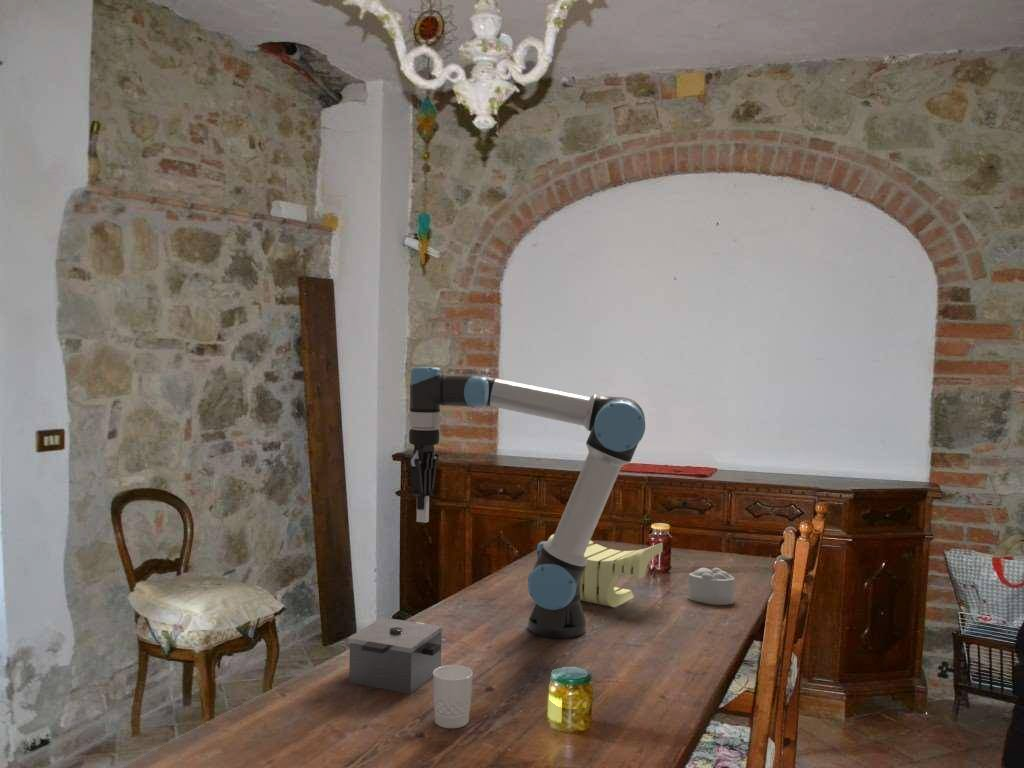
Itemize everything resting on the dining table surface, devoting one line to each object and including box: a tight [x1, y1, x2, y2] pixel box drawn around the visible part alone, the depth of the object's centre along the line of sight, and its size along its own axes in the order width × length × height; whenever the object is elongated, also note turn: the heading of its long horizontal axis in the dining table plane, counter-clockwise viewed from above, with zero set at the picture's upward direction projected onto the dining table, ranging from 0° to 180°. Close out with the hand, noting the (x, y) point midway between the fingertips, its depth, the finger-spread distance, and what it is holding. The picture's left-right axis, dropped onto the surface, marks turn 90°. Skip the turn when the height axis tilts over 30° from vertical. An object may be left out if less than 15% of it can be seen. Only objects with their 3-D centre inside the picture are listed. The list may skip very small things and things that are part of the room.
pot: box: [348, 630, 443, 695], centre depth 199 cm, size 20×15×9 cm
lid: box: [347, 617, 443, 654], centre depth 197 cm, size 15×19×2 cm
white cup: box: [432, 664, 474, 729], centre depth 176 cm, size 8×8×10 cm
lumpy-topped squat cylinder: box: [687, 567, 736, 606], centre depth 264 cm, size 10×13×9 cm
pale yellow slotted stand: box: [547, 533, 664, 608], centre depth 261 cm, size 30×16×18 cm, turn 57°
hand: (422, 521), depth 224 cm, fingers closed
